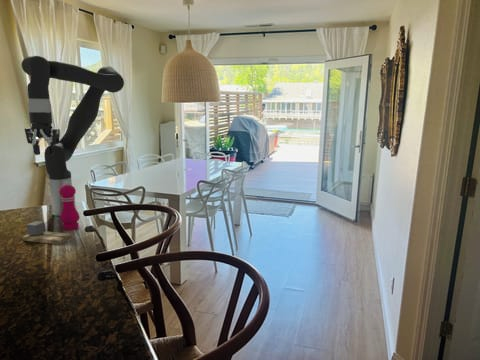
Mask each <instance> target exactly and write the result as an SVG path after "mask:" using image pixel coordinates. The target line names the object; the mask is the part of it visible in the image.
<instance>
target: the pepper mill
mask: <svg viewBox="0 0 480 360" xmlns="http://www.w3.org/2000/svg"><path fill="white" fill-rule="evenodd" d="M76 191H77V190H76V188H75V187H74V186H73V185H72V186H71V185H69V182H65V186H62V187H61V188H60V191H59V193H60V195H61V196H62V198H61V199H62V201H63V210H62V213H61V216H59V217H60V219H59V220H60V222H61V223H62V224H61V228H62V230H64V231H73V230H77V229H79V226H80V225H79V224H80V223H79V222H78V221H79V220H80V214H79V212H78V210H77V209H76V208H75V207H76V205H75V206H74V200H75V201H76V198H75V197H76V195H75V194H76ZM74 195H75V196H74Z"/></svg>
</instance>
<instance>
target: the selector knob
mask: <svg viewBox="0 0 480 360" xmlns="http://www.w3.org/2000/svg"><path fill="white" fill-rule="evenodd" d="M45 224H46V223H45V221H40V220H35V221H32V222H29V223H27V224H26V231H27V235H39V234H41V233H43V232H45V231H46V227H45Z"/></svg>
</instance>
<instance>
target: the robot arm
mask: <svg viewBox="0 0 480 360" xmlns="http://www.w3.org/2000/svg"><path fill="white" fill-rule="evenodd" d="M20 66H21V68H22V70H23V72H24V73H25V74H26V75H29V76H30V81H29V83H28V84H27V86H26V87H27V89H26V91H27V100H28V103H27V105H28V107H27V109H28V115H29V116H28V117H29V123H30V124H31V127H25V128H24V133H25V137H26V141H27V144H30V145H32V148H33V149H32V150H33V154H34V155H35V156H38V155H41V148H40V141H41V140H42V139H44V141H45V142H46V143H47V145H48V146H46V148H45V150H44V156H43V157H44V164H45V170H46V173H47V176H48V178H49V179H48V180H49V188H50V189H49V191H50V201H51V209H52V211H51V212H52V215H53V216H56V217H60V216H61V213H62V210H63V201H62V199H61V198H62V196H61V195H60V193H59V191H60V188H61V187H62V186H65V182H69V185H71V186H73V182H72V172H71V171H70V170H68V168H67V162H68V161H70V160H71V158H72V156H73V154H74V153H75V150H76V149H77V146H78V145H79V144H80V141H81V140H82V138H83V137H84V136H85V135H86V133H87V132H88V130H89V129H90V127H91V126H92V125H93V124H94V122H95V121H96V119H97V118H98V115H99V110H100V104H101V99H102V97H103V94H104V93H105V91H106V92H108V93H109V92H110V93H113V94H114V93H118V92H120V91H122V89H123V88H124V85H125V80H124V78H123V76H122V75H121V74H120V73H119V72H118V71H117V70H116V69H115V68H114V67H113V66H110V65H104V66H102V67H100V68H99V69H98V70H97V72H95V71H92V70H89V69H88V68H84V67H82V66H80V65H78V64H74V63H70V62H66V61H60V60H48V59H47V58H45V57H44V56H42V55H32V56H27V57H24V58H23V59H22V61H21V64H20ZM50 79H55V80H60V81H66V82H71V83H76V84H81V85H86V86H89V87H88V89H86V90H87V91H86V92H85V93H84V95H83V97H82V98H81V101H80V102H79V103H78V105H77V106H76V107H75V109H74V110H73V112H72V113H71V115H70V117H69V119H68V124H67V128H66V130H65V132H64V134H63V136H62V137H61V138H60V136H61V135H60V134H61V133H60V132H61V131H60V128H54V127H53V126H52V124H53V114H52V105H51V101H50V100H51V99H50V91H49V89H50V88H49V85H50ZM74 196H75V197H76V195H74ZM74 206H75V208H76V199H75V200H74Z"/></svg>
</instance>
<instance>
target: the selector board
mask: <svg viewBox="0 0 480 360" xmlns="http://www.w3.org/2000/svg"><path fill="white" fill-rule="evenodd" d="M71 239H73V233H64V232H54V231H46V230H45V232H43V233H41V234H39V235H28V234H26V235H24V236H22V240H23V241H24V242H25V241H27V242H33V243H34V242H36V243H43V244H53V245H62V244H64V243H65V242H67V241H69V240H71Z"/></svg>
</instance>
